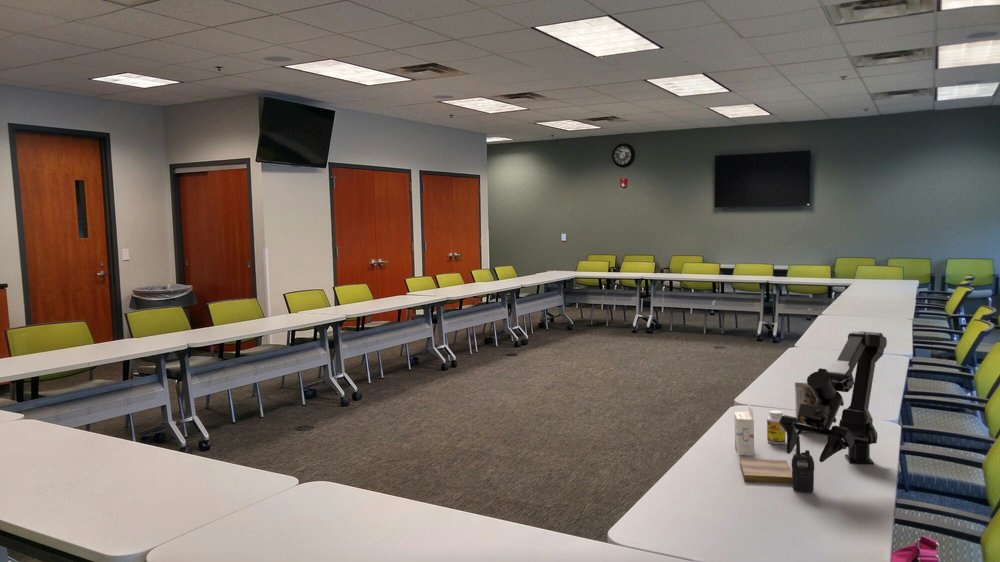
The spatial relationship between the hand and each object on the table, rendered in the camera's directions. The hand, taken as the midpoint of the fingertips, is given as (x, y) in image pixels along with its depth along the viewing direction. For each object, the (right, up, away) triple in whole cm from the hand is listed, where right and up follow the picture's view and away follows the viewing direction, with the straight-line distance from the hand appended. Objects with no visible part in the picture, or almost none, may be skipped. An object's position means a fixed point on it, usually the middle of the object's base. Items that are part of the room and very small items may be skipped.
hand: (803, 457), depth 179 cm
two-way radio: (0, -9, 0) cm, 9 cm away
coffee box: (+26, -5, +52) cm, 59 cm away
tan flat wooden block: (-5, -8, +13) cm, 16 cm away
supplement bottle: (+10, -6, +41) cm, 43 cm away
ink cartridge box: (-4, -7, +33) cm, 34 cm away
